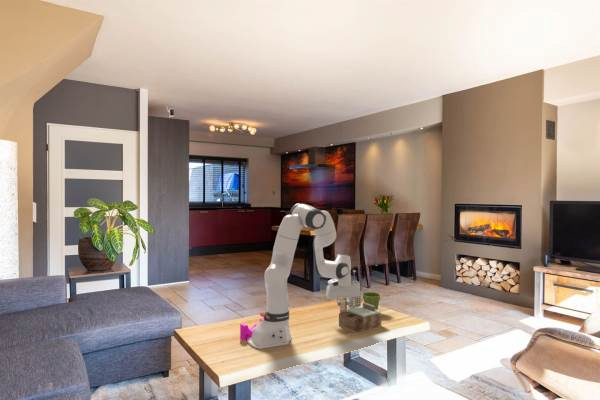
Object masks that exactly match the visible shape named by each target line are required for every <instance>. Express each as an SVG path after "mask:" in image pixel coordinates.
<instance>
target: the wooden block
mask: <svg viewBox="0 0 600 400" xmlns="http://www.w3.org/2000/svg"><path fill="white" fill-rule="evenodd" d="M347 301H348V299H347V298H338V302H340V306H339V313H344V312H348V311H347V308H348V305H347Z"/></svg>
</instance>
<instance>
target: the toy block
mask: <svg viewBox="0 0 600 400" xmlns="http://www.w3.org/2000/svg"><path fill="white" fill-rule="evenodd" d="M263 319H264V317H261V318H260V319H259V322H258V323H255V324H254V325H253V326H252V327H250V328H249V326H248V324H246V323H244V322H243V323H240V324H239V327H240V328H239V329H240V331H239V338H241V340H243V341H247V339H248V338H250V337H252V331H253V329H254V327H256V326H257V325H258V324H259V323H260V322H261V321H262V320H263Z"/></svg>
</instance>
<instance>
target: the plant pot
mask: <svg viewBox="0 0 600 400" xmlns="http://www.w3.org/2000/svg"><path fill="white" fill-rule="evenodd" d="M362 295H363V296H362ZM361 296H362V299H363V303H368V304H371V305H374V306H376V310H378V311H379V303H380V299H381V297H382V294H381V293H379V292H374V291H366V292H362V293H361Z"/></svg>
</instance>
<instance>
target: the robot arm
mask: <svg viewBox="0 0 600 400" xmlns="http://www.w3.org/2000/svg"><path fill="white" fill-rule="evenodd" d="M304 227H305V228H308V229H310V230H314V233H315V237H314V238H313V239H312V240H313V241H312V251H313V260H314V273H315V274H316V276H317V277H319V278H328V279H329V280H328V281H327V284H328V285H327V286H326V290H325V296H326V298H327V299H328V300H332V299H334V300H335V303H336V306H337V307H340V302H339V299H341V298H349V300H348V299H347V306H348V305H350V301H351V299H352V297H358V298H359V296H361V295H360V294H361V292H360V291H361V288H360V287H361V283H360V282H359V281H358V280H355V281H354V280H352V275H351V270H352V262H351V256H350V255H349V254H345V253H338V254H336V259H334V261H333V260H328V259H325V258H324V251H323V250H324V248H326V247H328V246H330V245H332V244H333V243H334V242H335V241H336V239H337V230H336V226H335V223H334V220H333V218H332V216H331V214H330V213H329V211H327V210H324V209H323V210H321V209H318V208H316V207H314V206H312V205H309V204H306V203H301V202H300V203H299V202H298V203H296V204H294V205H293V206H292V207H291V209H290V211H289V212H288V214H287V215H285V216H284V217H283V218H282V221H281V223H280V225H279V227H278V231H277V234H276V236H275V240H274V241H275V242H274V245H273V248H272V255H271V260H270V264H269V266H268V267H267V268H266V270H264V274H263V275H264V276H263V277H264V286H265V292H266V310H265V312H263V311H261V312H259V316H260V317H261V318H264V319H263V320H262V321H261V322H260V321H259V322H260V323H259V322H258V323H259V324H258V325H257V326H256V327H254V329H253V331H252V337H250V338H248V339H247V340H246V341H247V344H248V345H250V346H251V347H253V348H255V349H259V350H262V349H268V348H275V347H281V346H287V345H289V344H290V341H291V340H292V334H291V329H290V321H289V320H290V310H289V292H288V278H289V276H290V275H291V271H292V267H293V261H294V257H295V252H296V250H297V244H298V242H299V238H300V235H301V234H300V233H301V231H302V229H303V228H304Z"/></svg>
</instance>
